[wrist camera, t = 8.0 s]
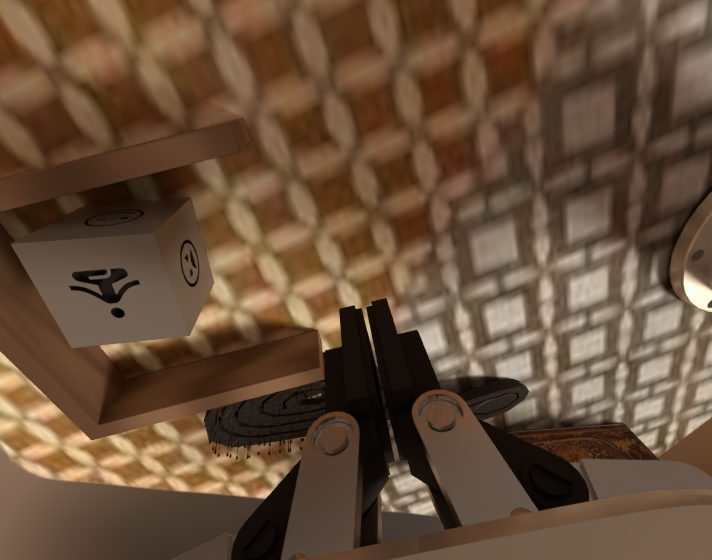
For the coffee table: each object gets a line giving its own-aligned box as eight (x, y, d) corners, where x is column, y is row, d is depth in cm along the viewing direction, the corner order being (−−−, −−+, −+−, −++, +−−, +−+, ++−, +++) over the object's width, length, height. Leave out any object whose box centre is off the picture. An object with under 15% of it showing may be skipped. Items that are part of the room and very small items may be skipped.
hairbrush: (523, 448, 28) (206, 481, 22) (499, 412, 31) (215, 433, 26) (565, 375, 24) (195, 393, 19) (533, 343, 28) (207, 349, 22)
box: (243, 118, 16) (229, 124, 13) (321, 341, 23) (324, 379, 20) (-52, 191, 15) (-139, 215, 12) (119, 393, 22) (91, 440, 19)
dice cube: (191, 197, 17) (153, 233, 13) (214, 282, 20) (189, 335, 15) (86, 204, 17) (10, 243, 12) (124, 290, 19) (71, 348, 15)
